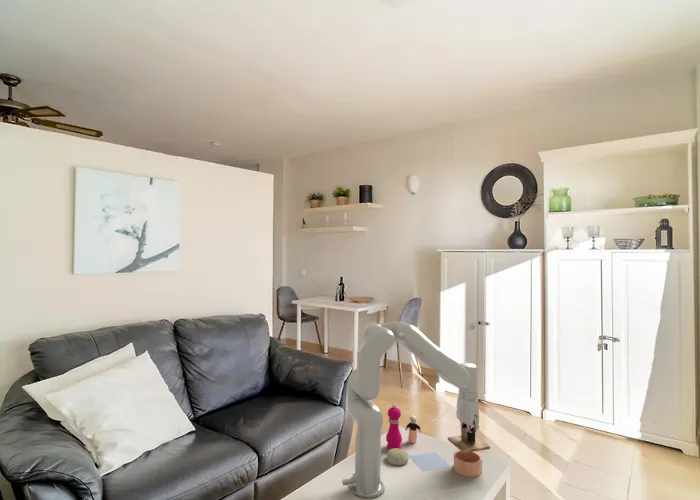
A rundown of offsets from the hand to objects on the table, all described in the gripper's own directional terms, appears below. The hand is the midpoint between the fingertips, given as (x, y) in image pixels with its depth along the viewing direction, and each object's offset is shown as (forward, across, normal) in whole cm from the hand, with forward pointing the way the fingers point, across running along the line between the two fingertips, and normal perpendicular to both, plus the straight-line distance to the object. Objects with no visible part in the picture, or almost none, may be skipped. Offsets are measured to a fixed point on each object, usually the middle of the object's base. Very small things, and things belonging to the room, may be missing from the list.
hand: (468, 438), depth 164 cm
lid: (+2, 0, 0) cm, 2 cm away
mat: (+12, -10, -12) cm, 20 cm away
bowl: (+13, 0, 0) cm, 13 cm away
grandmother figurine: (+13, -28, -11) cm, 33 cm away
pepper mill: (+13, -25, -22) cm, 36 cm away
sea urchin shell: (+13, -14, -25) cm, 32 cm away
